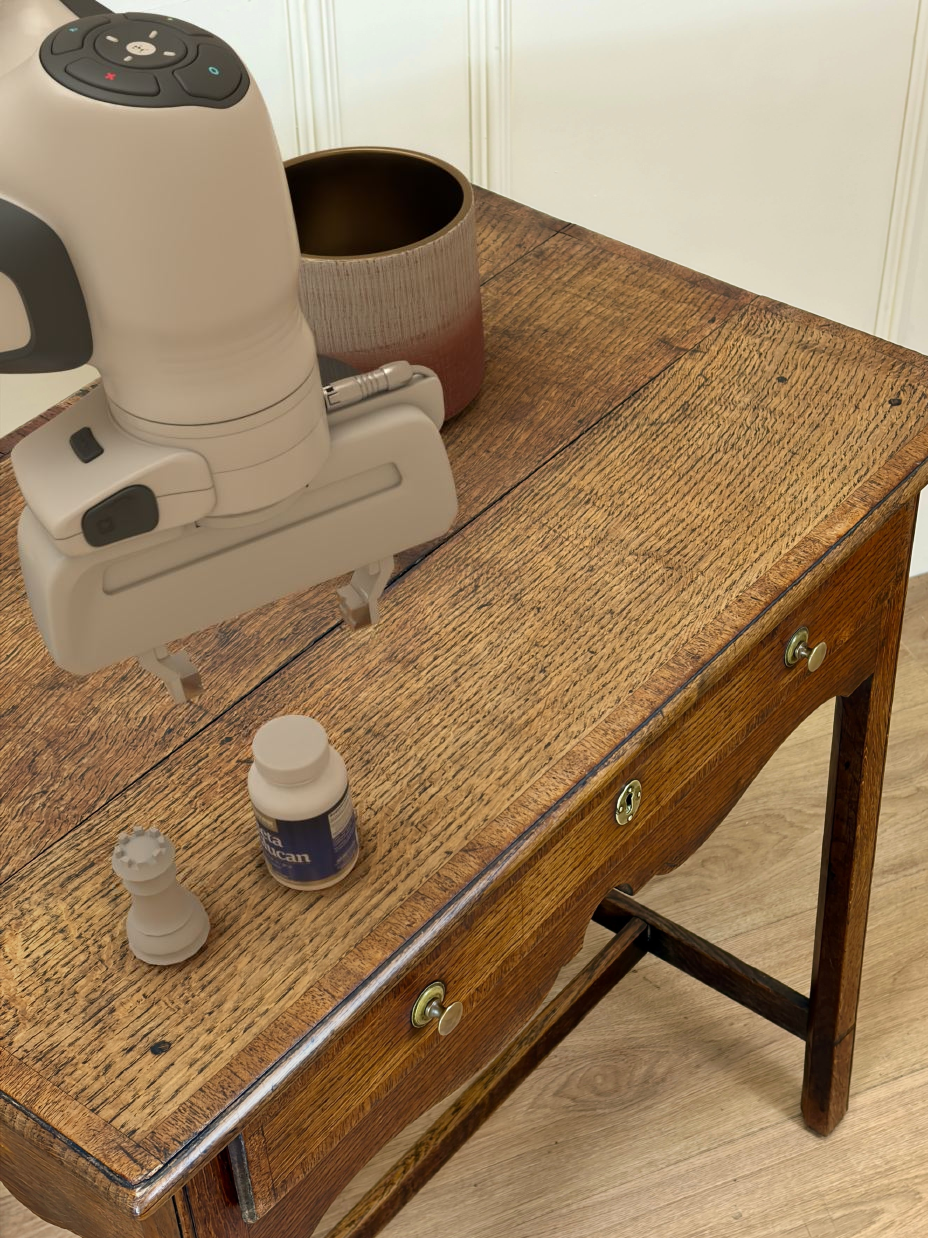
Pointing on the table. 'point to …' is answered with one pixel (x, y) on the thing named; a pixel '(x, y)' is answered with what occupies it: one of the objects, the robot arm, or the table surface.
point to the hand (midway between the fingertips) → (274, 655)
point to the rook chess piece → (158, 900)
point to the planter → (390, 263)
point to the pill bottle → (302, 804)
